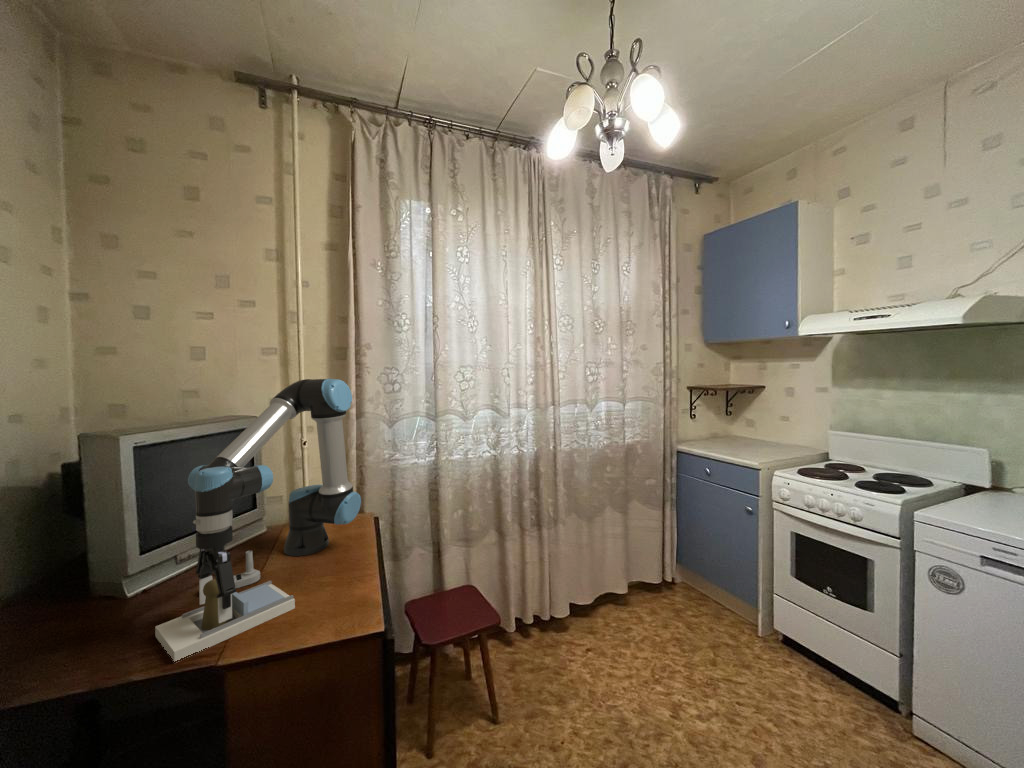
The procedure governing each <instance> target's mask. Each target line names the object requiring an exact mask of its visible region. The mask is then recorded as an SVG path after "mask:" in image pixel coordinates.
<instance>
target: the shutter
mask: <svg viewBox="0 0 1024 768" xmlns="http://www.w3.org/2000/svg"><path fill="white" fill-rule="evenodd" d="M238 593H239V592H237V591H236V592H235V593H232V608H233V609H235V610H236V611H237V612H238V613H239V614H240V615H241V616H244V615H246V614H249V613H251V612H253V611H256V610H258V609H260V608H263V607H265V606H267V605H270V604H272V603H274V602H277V601H279V600H281V599H284V598H285V597H284V596H283V595H281V594H280V593H278V592H277V591H275V590H274V589H272V588H271V587H269V586H268V585H266V584H264V585H262V586H259V587H257V588H254V589H251V590H249V591H246V592H244V593H241V594H238Z"/></svg>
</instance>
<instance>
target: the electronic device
mask: <svg viewBox="0 0 1024 768" xmlns="http://www.w3.org/2000/svg"><path fill="white" fill-rule="evenodd" d="M253 557H254V556H253V550H247V551H245V571H244V572H242V573H237V574H233V577H234V582H235V588H236V590H237V589H240V588H243V587H246V586H249V585H253V584H255V583H257V582H259V580H260V579H261V571H260V570H258V569H255V568H254V558H253Z"/></svg>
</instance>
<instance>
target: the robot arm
mask: <svg viewBox="0 0 1024 768" xmlns="http://www.w3.org/2000/svg"><path fill="white" fill-rule="evenodd" d="M352 403H353V395H352V391H351V388H350V387H349V385H348V384H347V383H346V382H345V381H343V380H342V379H336V378H334V379H333V378H319V379H318V378H317V379H309V378H308V379H307V378H305V379H300V380H297V381H295V382H293V383H291V384H290V385H288V386H286V387H285V388H283V389H282V390H281V391H280V392H278V393H277V394H276V395H275V396H273V398H272V399H270V401H269V406H268V407H267V408H266V409H265V410H263V412H262V413H260V414H259V416H258V417H256V418H255V420H253V421H252V422H251V423H250V424H249V425H248V426H247V427H246V428H245V429H244V430H243V431H242V432H241V433H240V434H239V435H238V436H237V437H236V438H235V439H234V440H232V441H231V443H229V444H228V445H227V447H225V448H224V449H223V450H222V451H221V452H220V453H219V454H218V455H217V456H216V457H215V458H214V459H213V460H212V461H210V463H209V464H203V465H198V466H197V467H194V468H193V469H192V470H191V471H190V473H189V474H188V476H187V477H188V478H187V483H188V486H189V488H190V489H191V490H193V491H194V495H195V496H194V497H195V498H194V501H195V503H194V504H195V519H194V520H193V521H192V524H193V525H195V530H196V533H195V548H197V549H199V553H198V558H197V564H196V571H195V574H196V575H198V576H197V578H198V579H199V580H198V589H199V590H198V591H199V593H198V595H199V596H198V599H199V606H201V605H202V606H203V605H205V599H206V596H205V595H204V593H203V588H204V585H205V584H206V583H207V582H209V581H210V580H213V579H216V582H217V586H218V590H219V595H217V596H216V598H218V623H221V622H224V621H226V620H229V619H231V618H232V593H235V592H237V589H236V588H235V582H234V577H233V576H234V572H233V565H232V559H231V552H230V551H227V549H225V546H226V545H227V544H229V543H230V542H232V541H233V526H232V525H233V521H234V520H233V518H234V517H233V514H234V513H233V512H234V511H233V501H235V500H239V499H242V498H244V497H248V496H251V495H254V494H259V493H262V492H264V491H266V490H267V489H269V488H270V487H271V486H272V485H273V482H274V473H273V470H271V468H270V467H269V466H267V465H265V464H260V465H253V466H250V467H245V466H247V464H248V463H249V462H250V461H251V460H252V459H253V457H255V455H257V454H258V452H260V450H262V449H263V447H264V446H265V445H266V444H267V443H268V442H269V441H270V439H272V438H273V437H274V435H275V434H277V432H279V430H280V429H281V428H282V427H283V426H284V425H285V424H286V423H287V422H288V421H289V420H292V419H295V418H296V416H297V415H299V414H301V413H303V412H310V418H311V420H313V421H314V422H315V423H316V431H317V441H318V450H319V459H320V460H319V462H320V470H321V471H320V472H321V482H322V484H312V485H308V486H301V487H299V488H295V489H294V490H291V492H290V493H289V495H288V521H289V523H288V526H289V528H288V534H287V536H286V539H285V543H284V545H283V553H284V555H287V556H290V557H301V556H302V557H303V556H309V555H312V554H317V553H320V552H321V551H323V550H325V549H326V548H327V547H328V546H329V543H330V540H329V535H328V532H327V530H326V528H325V524H334V525H336V526H338V525H348V524H350V523H352V521H354V520H355V519H356V517H357V515H358V514H359V512H360V508H361V504H362V497H361V495H360V494H359V492H356V491H354V485H353V483H352V482H350V481H349V479H348V468H347V467H348V465H347V455H346V445H345V435H344V425H343V419H344V418H345V417H346V416H347V411H348V410H349V409H350V408H351V406H352V405H351V404H352ZM213 575H214V577H215V578H213Z"/></svg>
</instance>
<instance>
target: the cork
mask: <svg viewBox="0 0 1024 768" xmlns="http://www.w3.org/2000/svg"><path fill="white" fill-rule="evenodd" d="M203 593H204V595H205V596H206V599H205V604H204V605H203V606H204V613H203V619H202V626H201V628H202V629H203V630H211V629H213V628H216V627H218V626H221V625H223V624H225V623H228V622H229V621H230V619H229V620H226V621H224V622H221V623H218V598H216V596H217V595H219V590H218V586H217V582H216V578H213V580H210V581H209V582H207V583H206V584H205V585H204V588H203Z"/></svg>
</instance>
